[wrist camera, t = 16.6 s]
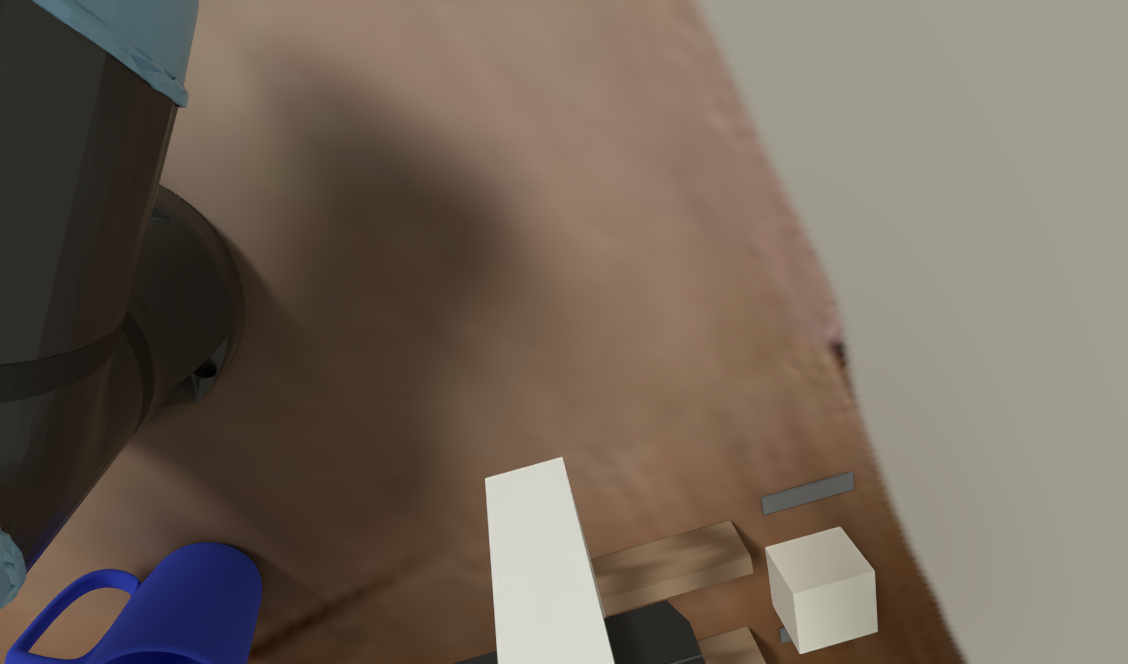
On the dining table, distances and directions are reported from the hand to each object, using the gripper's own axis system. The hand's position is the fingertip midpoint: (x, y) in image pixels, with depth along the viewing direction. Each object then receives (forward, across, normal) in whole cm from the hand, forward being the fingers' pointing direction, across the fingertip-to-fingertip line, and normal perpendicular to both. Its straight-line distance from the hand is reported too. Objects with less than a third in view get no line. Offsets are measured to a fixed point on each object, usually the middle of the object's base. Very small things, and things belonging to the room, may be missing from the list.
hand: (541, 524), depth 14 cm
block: (+30, +16, -34) cm, 48 cm away
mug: (+30, -26, -19) cm, 44 cm away
